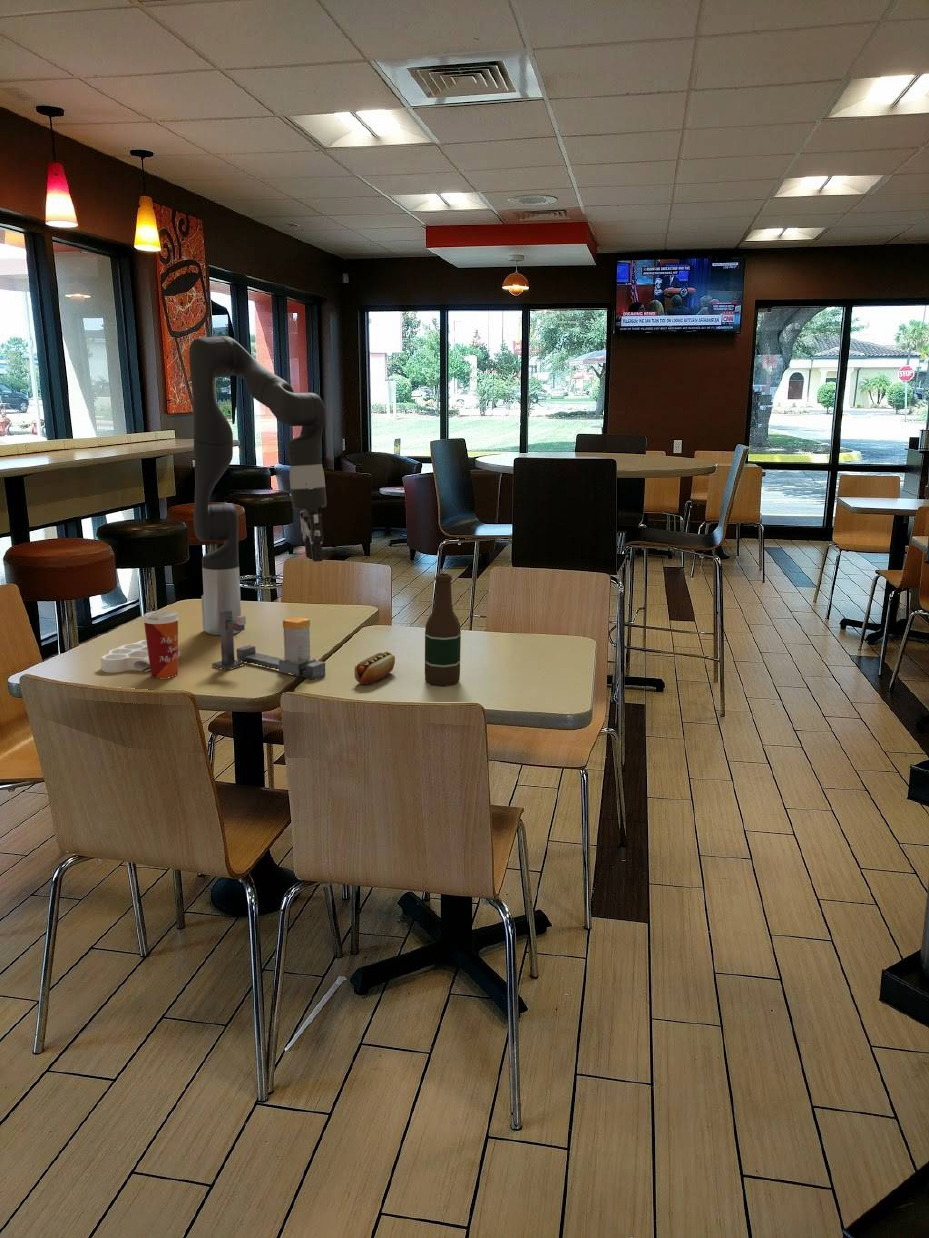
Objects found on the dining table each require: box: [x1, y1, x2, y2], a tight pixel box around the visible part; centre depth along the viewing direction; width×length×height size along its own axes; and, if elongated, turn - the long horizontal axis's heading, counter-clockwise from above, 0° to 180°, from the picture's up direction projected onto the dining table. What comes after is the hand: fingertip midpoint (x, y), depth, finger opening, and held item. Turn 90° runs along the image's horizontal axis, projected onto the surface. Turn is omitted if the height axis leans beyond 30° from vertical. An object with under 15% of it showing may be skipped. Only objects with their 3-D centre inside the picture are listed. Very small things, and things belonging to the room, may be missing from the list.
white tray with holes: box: [100, 639, 181, 673], centre depth 213 cm, size 3×18×15 cm
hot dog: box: [354, 651, 396, 685], centre depth 203 cm, size 5×13×5 cm, turn 156°
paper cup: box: [142, 610, 180, 680], centre depth 202 cm, size 8×8×14 cm
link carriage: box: [278, 616, 317, 678], centre depth 205 cm, size 6×6×12 cm
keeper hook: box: [211, 610, 247, 671], centre depth 208 cm, size 8×5×13 cm, turn 56°
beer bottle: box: [424, 573, 462, 688], centre depth 199 cm, size 8×8×24 cm
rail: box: [236, 644, 326, 681], centre depth 210 cm, size 24×4×3 cm, turn 56°
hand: (314, 559), depth 204 cm, fingers open, 8 cm apart
